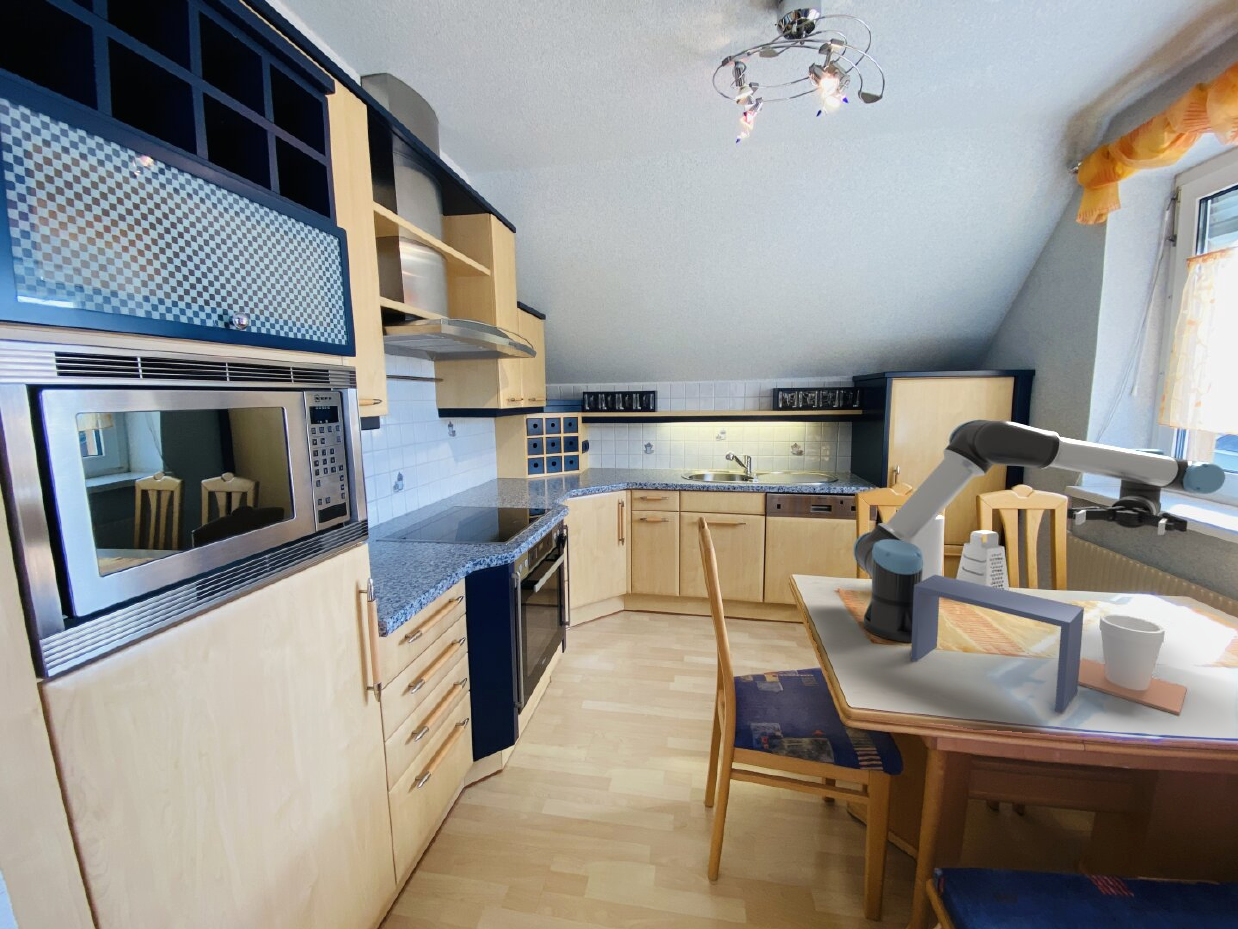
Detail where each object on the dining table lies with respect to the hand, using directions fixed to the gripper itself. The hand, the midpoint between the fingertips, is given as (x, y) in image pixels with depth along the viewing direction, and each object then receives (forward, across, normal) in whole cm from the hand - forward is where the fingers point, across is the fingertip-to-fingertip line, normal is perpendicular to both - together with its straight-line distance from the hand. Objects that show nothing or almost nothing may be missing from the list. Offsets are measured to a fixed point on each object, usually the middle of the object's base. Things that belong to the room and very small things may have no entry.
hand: (1117, 523), depth 114 cm
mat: (+14, -5, -32) cm, 35 cm away
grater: (-27, +33, -32) cm, 54 cm away
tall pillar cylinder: (-15, +46, -32) cm, 58 cm away
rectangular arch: (+31, +14, -32) cm, 47 cm away
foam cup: (+14, -5, -32) cm, 35 cm away
